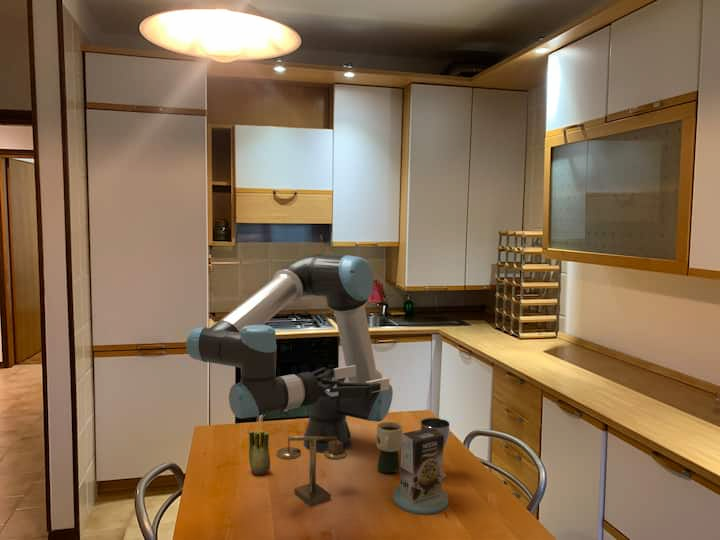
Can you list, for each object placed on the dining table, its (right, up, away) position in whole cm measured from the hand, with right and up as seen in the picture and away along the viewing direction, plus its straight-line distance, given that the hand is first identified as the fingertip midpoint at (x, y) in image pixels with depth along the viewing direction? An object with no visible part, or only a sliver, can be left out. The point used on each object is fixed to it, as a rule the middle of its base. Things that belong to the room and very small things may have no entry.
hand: (371, 376), depth 141 cm
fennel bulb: (-31, -30, +17) cm, 46 cm away
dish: (+13, -32, +3) cm, 35 cm away
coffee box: (+13, -31, +3) cm, 34 cm away
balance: (-15, -32, +3) cm, 35 cm away
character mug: (+5, -31, +20) cm, 37 cm away
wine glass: (+18, -31, +18) cm, 40 cm away
